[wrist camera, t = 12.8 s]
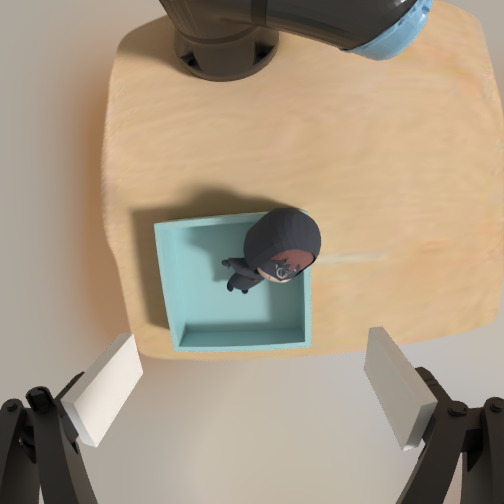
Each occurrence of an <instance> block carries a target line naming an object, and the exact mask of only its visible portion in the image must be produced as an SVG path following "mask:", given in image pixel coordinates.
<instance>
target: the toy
mask: <svg viewBox="0 0 504 504" xmlns="http://www.w3.org/2000/svg"><path fill="white" fill-rule="evenodd" d="M320 247H321V236H320V231H319V228H318V226H317V224H316V223H315V221H314V220H313V219H312V218H311V217H309V216H308V215H306V214H305V213H303V212H301V211H299V210H297V209H293V208H276V209H274V210H272V211H270V212H268V213H267V214H265V215H264V216H263V217H262V218H261V219H260V220H259V221H258V222H257V223H256V224H255V225H254V226H252V227H251V228H250V229H249V230H248V232H247V233H246V237H245V241H244V248H243V252H244V257H243V258H228V260H222V265H223V266H227V267H228V269H229V268H230V266H232V268H233V269H234V270H235V272H236V273H234V274H233V275H232V276H231V278H230V279H229V281H228V283H227V290H228V291H230V292H232V291H233V288H236V289H239V290H241V291H242V293H243V294H247V293H248V289H250V288H252V287H254V286H255V285H257V284H259V283H261V282H262V281H264V279H267V280H270V281H273V282H280V283H284V282H287V281H289V280H290V279H292V278H294V277H296V276H297V275H299V274H300V273H301V272H302V271H304V270H305V269H306V268H307V267H309V266H310V265H311V264H312V263H314V261H315V260H316V258H317V256H318V254H319V252H320Z"/></svg>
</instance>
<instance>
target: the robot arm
mask: <svg viewBox="0 0 504 504" xmlns="http://www.w3.org/2000/svg"><path fill="white" fill-rule="evenodd" d="M159 1H160V3H161V4H162V6H163V7H164V9H165V11H166V12H167V14H168V16H169V17H170V19H171V20H172V22H173V24H174V25H175V40H174V45H175V50H176V53H177V56H178V57H179V59H180V61H181V62H182V64H183V65H184V66H185V68H186V69H187V70H188V71H190V72H191V73H192V74H194V75H196V76H198V77H200V78H203V79H206V80H210V81H218V82H227V81H235V80H239V79H243V78H246V77H249V76H251V75H253V74H255V73H257V72H258V71H260V70H261V69H263V68H264V67H265V66H266V65H267V64H268V63H269V62H270V61H271V60H272V58H273V57H274V55H275V53H276V51H277V47H278V40H279V31H282V32H286V33H290V34H294V35H298V36H301V37H305V38H309V39H312V40H315V41H319V42H322V43H325V44H328V45H331V46H334V47H337V48H339V50H341V51H343V52H347V53H355V54H358V55H361V56H363V57H366V58H369V59H372V60H377V61H380V60H387V59H391V58H393V57H395V56H397V55H398V54H400V53H401V52H402V51H404V50H405V49H406V48H407V47H408V46H409V45H410V44H411V43H412V42H413V40H414V39H415V38H416V37H417V35H418V34H419V33H420V31H421V30H422V28H423V26H424V25H425V23H426V21H427V16H426V15H427V13H428V12H429V11H430V10H431V7H432V1H433V0H159ZM364 370H365V373H366V375H367V377H368V379H369V380H370V383H371V385H372V387H373V389H374V391H375V393H376V395H377V397H378V399H379V401H380V404H381V405H382V408H383V410H384V412H385V414H386V416H387V418H388V420H389V423H390V425H391V427H392V429H393V431H394V434H395V436H396V438H397V440H398V442H399V445H400V447H401V449H402V451H405V450H409V449H412V448H415V447H418V446H419V443H420V441H421V439H422V438H423V440H424V442H425V446H424V448H423V450H422V452H421V454H420V456H419V457H418V461H417V464H416V466H415V468H414V470H413V472H412V474H411V476H410V478H409V480H408V482H407V484H406V486H405V488H404V489H403V491H402V493H401V495H400V497H399V499H398V500H397V502H396V504H443V501H444V499H445V496H446V494H447V491H448V489H449V486H450V483H451V480H452V478H453V474H454V472H455V469H456V465H457V462H458V459H459V456H460V453H461V452H462V453H463V455H462V459H463V460H462V461H463V463H462V490H461V501H460V504H504V399H501V398H499V397H492V398H489V399H487V400H486V402H485V404H484V406H483V407H481V408H468V406H467V405H466V404H464V403H463V402H460V401H452V400H451V398H450V397H449V396H448V394H447V393H446V392H445V390H444V389H443V388H442V386H441V385H440V384H439V383H438V381H437V380H436V379H435V377H434V376H433V375H432V374H431V372H430V371H428V370H426V369H425V368H423V367H418V368H414V367H413V366H412V365H411V363H410V362H409V361H408V359H407V358H406V357H405V356H404V354H403V353H402V352H401V350H400V349H399V347H398V346H397V345H396V344H395V342H394V341H393V340H392V338H391V337H390V336H389V335H388V333H387V332H386V331H385V329H384V328H383V327H374V328H370V329H369V337H368V344H367V351H366V358H365V365H364ZM142 373H143V370H142V367H141V363H140V359H139V356H138V352H137V348H136V344H135V340H134V335H133V334H132V333H121V334H120V335H119V336H118V338H116V339H115V341H114V342H113V343H112V344H111V345H110V346H109V347H108V348H107V349H106V350H105V351H104V352H103V353H102V354H101V356H100V357H99V358H98V359H97V360H96V361H95V362H94V363H93V364H92V365H91V366H90V368H89V369H88V370H87V371H86V372H81V373H80V374H78V375H76V376H75V377H74V378H73V379H72V380H71V381H70V383H68V384H67V385H66V387H65V388H64V389H63V390H62V391H61V392H60V393H59V394H58V395H57V396H56V398H55V399H53V397H52V395H51V393H50V391H49V389H48V388H46V387H43V386H39V387H35V388H33V389H31V390H29V391H28V392H27V394H26V399H27V401H28V403H29V405H30V407H31V408H24V406H23V404H22V402H21V401H20V400H19V399H10V400H7V401H6V402H5V403H4V404H3V405H2V407H1V410H0V504H39V489H40V485H41V491H42V495H43V500H44V504H98V503H97V500H96V497H95V495H94V492H93V490H92V487H91V484H90V482H89V478H88V475H87V473H86V469H85V466H84V463H83V460H82V456H81V453H80V449H79V446H78V444H77V442H76V438H77V437H78V435H79V436H80V438H81V440H82V441H83V443H84V444H87V445H90V446H94V447H97V446H98V444H99V443H100V441H101V439H102V438H103V436H104V434H105V433H106V431H107V429H108V428H109V426H110V424H111V423H112V421H113V420H114V418H115V416H116V415H117V413H118V412H119V410H120V408H121V407H122V405H123V404H124V402H125V400H126V399H127V397H128V396H129V394H130V392H131V391H132V389H133V388H134V386H135V385H136V383H137V381H138V380H139V378H140V377H141V375H142ZM19 439H20V442H19Z"/></svg>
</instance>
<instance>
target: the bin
mask: <svg viewBox="0 0 504 504" xmlns="http://www.w3.org/2000/svg"><path fill="white" fill-rule="evenodd" d="M297 210H299V211H301V212H303V213H305V214H306V215H308V211H305V210H302V209H297ZM268 212H270V211H266V212H252V213H239V214H227V215H215V216H204V217H194V218H183V219H174V220H166V221H163V222H159V223H155V224H154V230H155V239H156V247H157V255H158V262H159V269H160V276H161V282H162V288H163V294H164V300H165V306H166V311H167V317H168V322H169V327H170V332H171V337H172V342H173V347H174V351H175V352H232V351H258V350H275V349H289V348H301V347H311V279H310V266H309V267H307V268H306V269H305V270H304V271H302V272H301V273H300V274H299V275H297V276H296V277H294V278H292V279H290V280H289V281H287V282H284V283H280V282H273V281H270V280H267V279H264V281H262V282H261V283H259V284H257V285H255V286H254V287H252V288H250V289H248V293H247V294H243V293H242V291H241V290H239V289H236V288H233V291H232V292H230V291H228V290H227V283H228V281H229V279H230V278H231V276H232V275H233V274H234V273H236V272H235V270H234V269H233V268H232V266H230V268H229V269H228V267H227V266H223V265H222V260H228V258H243V257H244V252H243V248H244V241H245V237H246V233H247V232H248V230H249V229H250V228H251V227H252V226H254V225H255V224H256V223H257V222H258V221H259V220H260V219H261V218H262V217H263V216H264V215H265V214H267V213H268Z"/></svg>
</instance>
